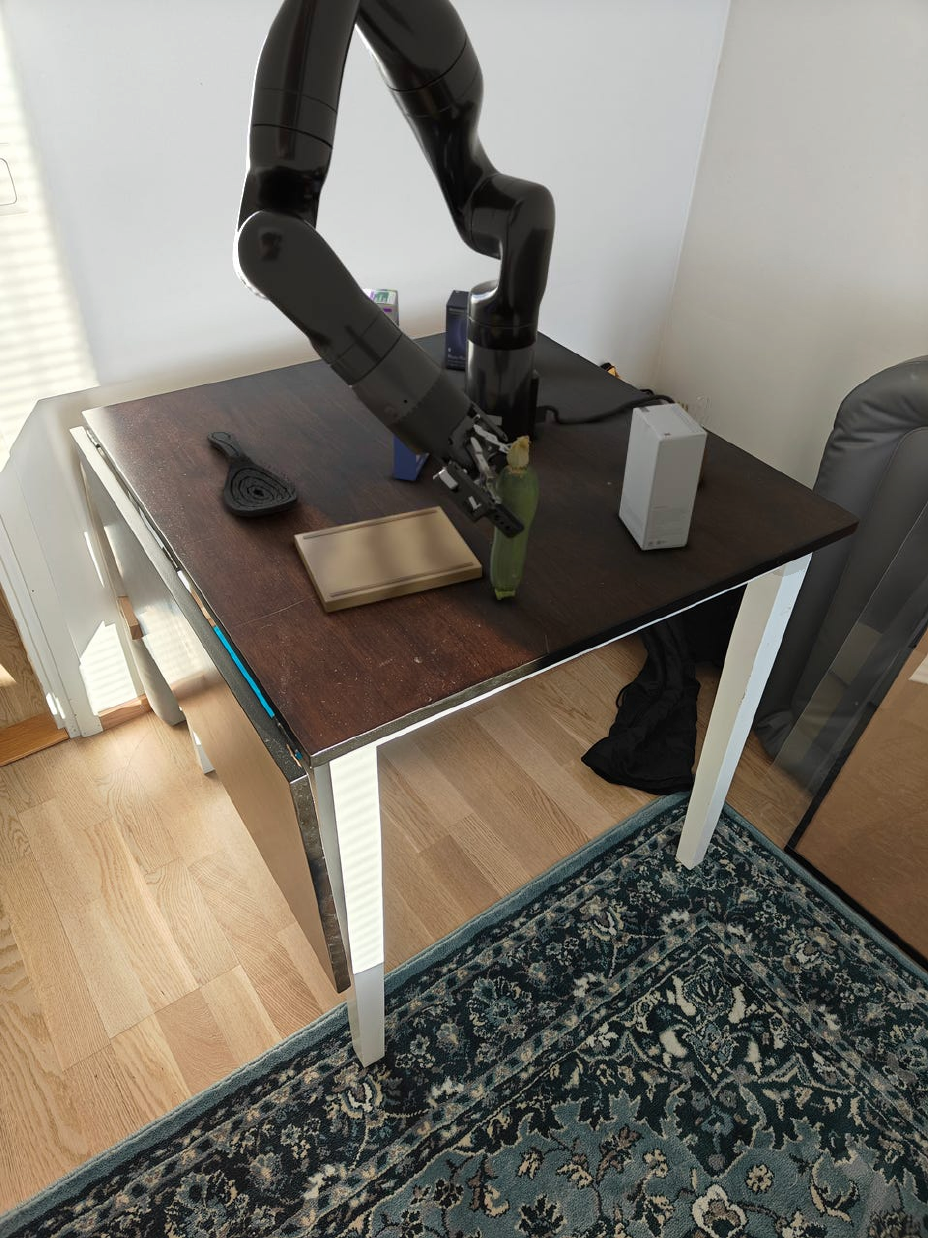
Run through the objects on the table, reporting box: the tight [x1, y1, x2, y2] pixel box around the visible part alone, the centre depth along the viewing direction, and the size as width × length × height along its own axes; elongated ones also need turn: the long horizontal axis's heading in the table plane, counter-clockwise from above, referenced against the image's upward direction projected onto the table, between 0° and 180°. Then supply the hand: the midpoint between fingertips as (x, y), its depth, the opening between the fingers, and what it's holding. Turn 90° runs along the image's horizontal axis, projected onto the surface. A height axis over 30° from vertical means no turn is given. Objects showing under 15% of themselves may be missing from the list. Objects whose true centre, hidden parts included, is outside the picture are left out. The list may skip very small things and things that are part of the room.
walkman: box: [393, 434, 429, 482], centre depth 112 cm, size 8×3×12 cm, turn 167°
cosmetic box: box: [618, 402, 709, 551], centre depth 101 cm, size 8×6×15 cm
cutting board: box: [294, 505, 483, 614], centre depth 99 cm, size 18×13×2 cm
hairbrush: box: [206, 430, 299, 518], centre depth 111 cm, size 8×4×25 cm
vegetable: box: [489, 436, 540, 601], centre depth 89 cm, size 4×4×20 cm
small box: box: [444, 289, 470, 371], centre depth 137 cm, size 11×6×10 cm, turn 80°
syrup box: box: [361, 288, 400, 328], centre depth 127 cm, size 6×6×14 cm
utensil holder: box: [676, 396, 712, 484], centre depth 111 cm, size 6×6×12 cm
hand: (521, 508), depth 88 cm, fingers open, 8 cm apart
